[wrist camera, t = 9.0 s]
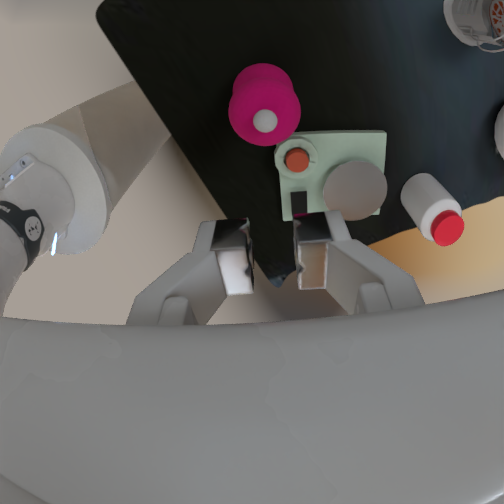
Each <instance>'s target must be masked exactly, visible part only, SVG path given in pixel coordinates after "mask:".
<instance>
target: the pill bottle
mask: <svg viewBox="0 0 504 504" xmlns="http://www.w3.org/2000/svg"><path fill="white" fill-rule="evenodd" d="M401 202H402V205H403V206H404V208H405V209H406V211H407V212H408V214H409V215H410V217H411V218H412V220H413V221H414V223H415V224H416V226H417V227H418V229H419V230H420V232H421V233H422V235H423V236H424V237H425V238H426V239H428V240H429V241H435V242H436V243H437V244H438V245H440V246H448V245H451V244H453V243H454V242H455V241H457V240H458V239H459V237H460V236H461V234H462V232H463V230H464V222H463V219H462V218H461V217H462V211H461V207H460V205H459V204H458V202H457V201H456V200H455V199H454V198H453V197H452V196H451V195H450V193H449V192H448V191H447V190H446V189H445V188H444V187H443V186H442V185H441V184H440V183H439V182H438V181H437V180H436V179H435V178H434V177H433V176H432V175H430V174H427V173H420V174H416V175H414V176H412V177H411V178H410V179H409V180H408V181H407V182H406V183H405V185H404V186H403V188H402V191H401Z"/></svg>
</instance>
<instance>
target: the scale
mask: <svg viewBox="0 0 504 504" xmlns="http://www.w3.org/2000/svg"><path fill="white" fill-rule="evenodd" d="M386 135H387V133H386V132H385V131H383V130H333V131H308V132H293V134H292V135H291V136H290V137H289V138H287V139H286V140H284V141H282V142H280V143H278V144H276V145H277V147H276V149H275V151H274V156H275V165H276V167H277V169H278V170H279V177H280V189H281V201H282V214H283V221H289V220H293V219H292V212H291V196H290V192H298V191H307V209H308V213H312V212H322V211H329V210H328V209H327V207H326V205H325V203H324V199H323V186H324V183H325V180H326V179H327V177H328V175H329V174H330V173H331V172H332V171H333V170H334V169H335V168H336V167H337V166H339V165H341V164H343V163H345V162H348V161H352V160H364V161H368V162H370V163H373V164H374V165H376V166H377V167H378V168H379V169H380V170H381V171H382V172H383V174H384V165H385V152H386ZM295 148H298V149H302V150H303V151H305V153H306V154H307V157H308V159H309V165H308V167H307V168H306V169H305V170H304V171H302V172H299V173H296V172H292V171H291V170H289V168H288V167H287V164H286V155H287V153H288V152H289V151H290V150H292V149H295ZM379 211H380V208H379V209H378V210H377V211H376V212H374V213H373V214H372V215H376V214H379Z"/></svg>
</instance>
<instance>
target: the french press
mask: <svg viewBox="0 0 504 504" xmlns="http://www.w3.org/2000/svg"><path fill="white" fill-rule="evenodd" d="M443 12H444V15H445V18H446V22H447V24H448V26H449V27H450V29H451V31H452V32H453V34H454V35H455V36H456V37H457V38H458V39H459V40H460V41H461V42H463V43H465V44H468V45H470V46H478V47H479V48H480V49H481V50H483V51H487V52H499V51H503V50H504V48H503V49H500V50H492V51H489V50H486V49H483V48H481V47H480V46H479V45H481V44H482V43H484V42H485V43H490V44H495V45H499V46H504V45H503V44H504V0H444V11H443ZM490 20H491V24H492V26H493V31H494V39H493V38H492V33H491V24H490ZM496 34H497V35H498V36H499V37H498V38H497V35H496ZM498 39H499V40H498ZM495 40H498V41H497V42H496V41H495ZM501 40H502V41H503V42H502V44H499V43H500V42H501Z"/></svg>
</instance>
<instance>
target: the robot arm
mask: <svg viewBox="0 0 504 504" xmlns="http://www.w3.org/2000/svg"><path fill="white" fill-rule="evenodd" d="M74 212H75V202H74V197H73V194H72V191H71V189H70V187H69V185H68V183H67V182H66V180H65V179H64V177H63V176H62V175H61V174H60V173H59V172H58V171H57V170H55V169H54V168H53V167H51V166H49V165H47V164H45V163H42V162H40V161H39V160H38V159H37V158H36V157H35V156H34V155H32V154H31V153H26V154H25V155H23V156H22V157H21V158H20V159H19V160H17V161H16V162H15V163H14V164H13V165H12V166H11V167H9V168H8V169H7V170H6V171H5V172H4V173H3V174H2V175H1V176H0V504H504V289H503V290H498V291H494V292H489V293H484V294H480V295H475V296H470V297H465V298H459V299H454V300H449V301H444V302H438V303H432V304H426V305H425V302H424V300H423V298H422V296H421V293H420V291H419V289H418V287H417V285H416V282H415V280H414V278H413V277H412V276H411V275H410V274H408V273H406V272H405V271H404V270H402V269H401V268H399V267H398V266H396V265H395V264H393V263H392V262H390V261H389V260H387V259H386V258H384V257H383V256H381V255H380V254H378V253H376V252H375V251H373V250H372V249H370V248H369V247H367V246H366V245H364V244H363V243H361V242H359V241H358V240H356V239H355V240H352V239H351V237H350V234H349V231H348V229H347V226H346V224H345V221H344V219H343V216H342V214H341V212H340V211H339V210H331V211H322V212H312V213H302V214H292V219H293V231H294V237H293V239H294V254H295V263H296V266H297V279H298V286H299V290H308V289H324V288H326V290H327V291H328V292H329V293H330V295H331V296H332V297H333V298H334V299H335V300H336V301H337V302H338V303H339V304H340V305H341V306H342V307H343V308H344V309H345V310H346V311H347V312H348V313H349V315H345V316H335V317H324V318H315V319H303V320H290V321H276V322H261V323H243V324H220V325H206V323H207V322H208V321H209V320H210V318H211V317H212V316H213V314H214V313H215V312H216V311H217V309H218V308H219V306H220V305H221V304H222V303H223V301H224V300H225V299H226V297H227V296H228V295H240V294H252V293H253V285H254V276H253V269H254V251H253V243H252V240H251V239H250V224H249V220H248V218H238V219H225V220H212V221H204V222H201V223H200V226H199V229H198V233H197V236H196V240H195V243H194V247H193V251H192V253H187V254H186V255H185V256H183V257H182V258H181V259H180V260H179V261H177V262H176V263H175V264H174V265H173V266H171V267H170V268H169V269H168V270H167V271H165V272H164V273H163V274H162V275H161V276H159V277H158V278H157V279H156V280H155V281H154V282H152V283H151V284H150V285H149V286H148V287H147V288H145V289H144V290H143V291H142V292H141V293H139V294H138V295H137V296H136V298H135V300H134V303H133V305H132V308H131V311H130V314H129V317H128V319H127V322H126V325H102V324H82V323H65V322H64V323H63V322H50V321H38V320H27V319H17V318H7V317H2V316H3V311H4V307H5V304H6V301H7V299H8V297H9V295H10V293H11V291H12V289H13V287H14V286H15V284H16V282H17V280H18V279H19V277H20V275H21V274H22V273H23V272H24V271H26V270H27V269H28V268H29V267H30V266H31V265H32V264H33V262H34V261H35V259H36V257H37V256H43V255H44V254H45V253H46V252H47V251H48V250H49V249H50V248H51V247H52V245H53V248H52V255H53V254H54V253H55V247H56V241H57V240H64V239H65V238H66V237H67V233H68V225H69V224H70V222H71V221H72V219H73V216H74Z"/></svg>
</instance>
